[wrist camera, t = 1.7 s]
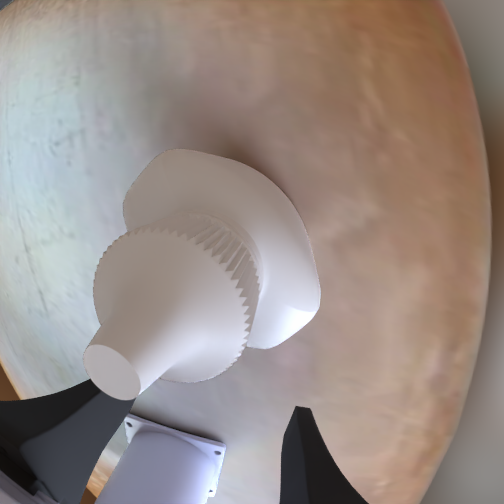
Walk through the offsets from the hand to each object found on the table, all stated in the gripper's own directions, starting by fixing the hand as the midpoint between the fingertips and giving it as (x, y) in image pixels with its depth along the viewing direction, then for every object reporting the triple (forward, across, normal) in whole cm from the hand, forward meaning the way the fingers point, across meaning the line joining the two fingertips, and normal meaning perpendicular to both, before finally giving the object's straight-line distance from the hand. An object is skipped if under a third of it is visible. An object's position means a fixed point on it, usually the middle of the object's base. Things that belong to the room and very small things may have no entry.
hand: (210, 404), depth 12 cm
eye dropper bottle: (+5, 0, -8) cm, 9 cm away
